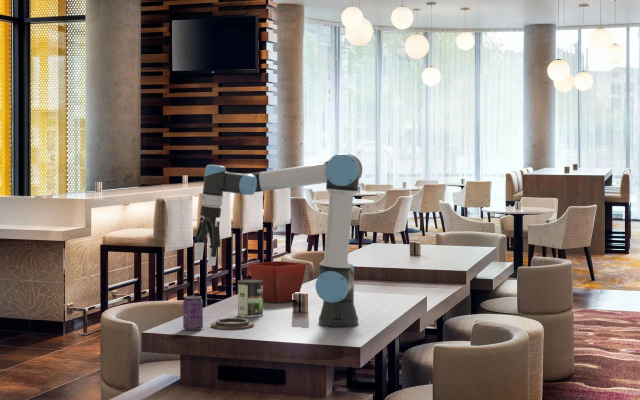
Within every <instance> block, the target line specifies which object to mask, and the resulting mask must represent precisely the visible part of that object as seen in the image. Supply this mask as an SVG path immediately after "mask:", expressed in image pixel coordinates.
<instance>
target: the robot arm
mask: <svg viewBox="0 0 640 400" xmlns="http://www.w3.org/2000/svg"><path fill="white" fill-rule="evenodd" d="M204 170H205V171H204V175H203V189H202V196H201V197H200V199H201V205H202V206H200V213H199V214H200V219H199V224H198V227H197V228H196V229H197V230H196V232H195V236H194V240H195V241H196V248H195V257H194V259H195V260H196V261H197V260H199V261H201V260H202V261H203V257H204V248H205V243H206V241H205V239H206V237H207V235H208V239H209V243H210V245H209V251H208V252H209V253H208V259H207V266H211V267H212V266H216V264H217V255H218V254H217V253H218V248H220V247H221V233H220V224H221V223H220V220H217V219H218V218H220V217H221V215H222V208H221V207H222V206H223V199H224V198H223V197H224V192H225V193H232V194H237V195H238V194H239V195H244V196H253V195H255V193H260V192H268V191H276V190H281V189H282V190H283V189H291V188H298V187H304V186H312V185H318V184H319V185H320V184H325V185H326V187H325V190H326V191H327V192H328V193H329V200H328V208H327V209H328V211H327V220H326V231H325V233H326V234H325V244H324V255H323V260H322V261H319V266H318V267H319V268H318V275H317V279H316V281H315V291H316V294H317V295H318V297H319V298H320V299H321V300H322V301H323V302H322V307H321V311H320V315H319V317H318V324H319V325H320V326H324V327H332V328H333V327H335V328H343V327H345V328H348V327H353V326H357V325H359V316H358V314H357V310H356V307H355V302H354V301H355V300H354V299H355V294H354V291H355V285H354V284H355V276H354V275H355V269H354V268H355V267H354V265H353V264H351V263H349V262H348V259H349V247H350V238H351V237H350V235H351V226H352V215H353V212H352V211H353V204H354V203H353V202H354V196H355V195H356V194H357V193H358V192H359V183H360V182H359V181H360V178H362V175H363V165H362V162H361V161H360V159H359V158H358V157H357V156H355V155H353V154H351V153H346V152H340V153H337V154H335V155H333V156H332V157H330V158H329V159H326V160H325V161H324V162H323V163H322V162H321V163H314V164H308V165H302V166H293V167H287V168H285V167H284V168H279V169H272V170H266V171H260V172H258V171H257V172H251V173H238V172H237V173H236V172H230V171H227V169H226V166H225V165H219V164H218V165H216V164H207V165H206V167H205V169H204Z"/></svg>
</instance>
